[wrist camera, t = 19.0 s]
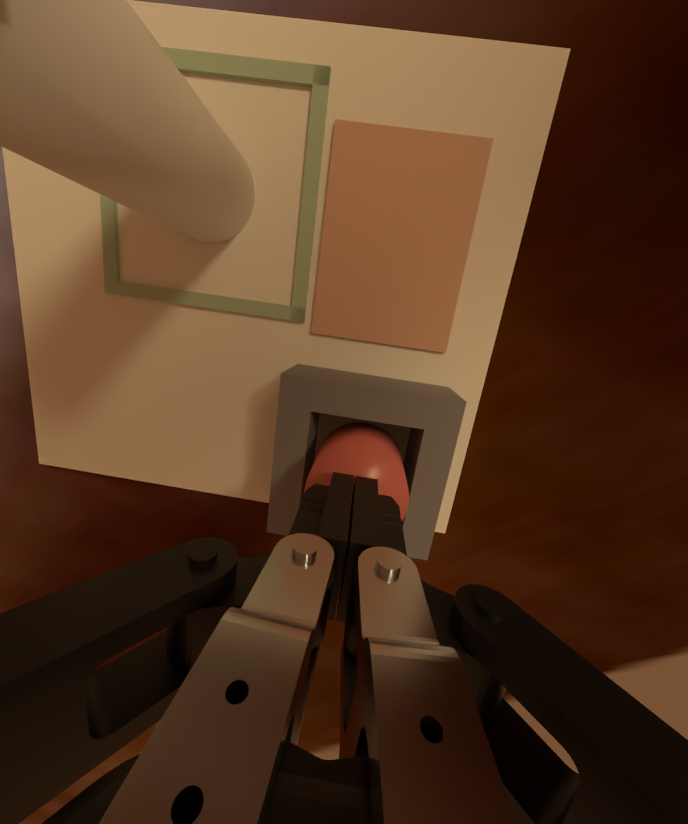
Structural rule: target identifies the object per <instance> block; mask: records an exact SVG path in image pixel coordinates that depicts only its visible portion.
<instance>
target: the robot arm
mask: <svg viewBox="0 0 688 824" xmlns="http://www.w3.org/2000/svg"><path fill="white" fill-rule="evenodd" d="M353 484H354V475H349V474H343V473H337V472H333V474H332V478H331V483H330V486H326V485H320V484H314V485H312V486H311V487H310V488H308V489H307V490H306V491H305V494H304V496H303V499H302V502H301V504H300V507H299V509H298V512H297V514H296V517H295V520H294V522H293V525H292V527H291V530H290V533H289V535H288V536H286V537H284V538H283V539H281V540H280V541H279V542H278V543H277V544H276V546H275V548H274V550H273V551H272V552H271V553H268V554H265V555H261V556H251V557H237V556H238V555H237V550H236V548H235V547H234V545H233V544H231V543H230V542H228V541H227V540H224V539H221V538H216V537H203V538H197V539H193V540H190V541H187V542H185V543H182V544H180V545H177V546H174V547H172V548H169V549H167V550H164V551H161V552H159V553H156V554H154V555H151V556H149V557H146V558H143V559H141V560H138V561H136V562H133V563H130V564H128V565H125V566H123V567H120V568H117V569H115V570H112V571H110V572H107V573H104V574H102V575H99V576H97V577H94V578H92V579H89V580H86V581H84V582H81V583H79V584H76V585H73V586H71V587H68V588H66V589H63V590H60V591H58V592H55V593H53V594H50V595H47V596H45V597H42V598H40V599H37V600H34V601H32V602H29V603H27V604H24V605H22V606H19V607H16V608H14V609H11V610H9V611H6V612H3V613H1V614H0V824H18V823H20V822H21V821H23V820H24V819H25V818H27V817H28V816H29V815H31V814H32V813H33V812H35V811H36V810H38V809H39V808H40V807H42V806H43V805H44V804H46V803H47V802H49V801H50V800H51V799H53V798H54V797H55V796H57V795H58V794H59V793H61V792H62V791H64V790H65V789H66V788H68V787H69V786H70V785H72V784H73V783H74V782H76V781H77V780H79V779H80V778H81V777H83V776H84V775H85V774H87V773H88V772H89V771H91V770H92V769H94V768H95V767H96V766H98V765H99V764H100V763H102V762H103V761H105V760H106V759H107V758H109V757H110V756H111V755H113V754H114V753H115V752H117V751H118V750H120V749H121V748H122V747H124V746H125V745H126V744H128V743H129V742H130V741H132V740H133V739H135V738H136V737H137V736H139V735H140V734H141V733H143V732H144V731H145V730H147V729H148V728H150V727H151V726H152V725H154V724H155V723H156V722H158V721H159V720H160V719H161V720H160V722H159V724H158V725H157V727H156V729H155V730H154V732H153V734H152V735H151V737H150V739H149V740H148V742H147V744H146V745H145V747H144V749H143V750H142V752H141V754H139V755H137V756H135V757H133V758H131V759H129V760H127V761H125V762H123V763H122V764H120V765H119V766H117V767H116V768H114V769H113V770H111V771H110V772H108V773H106V774H105V775H103V776H102V777H101V778H99V779H98V780H97V781H95V782H94V783H93V784H91V785H90V786H89V787H87V788H86V789H85V790H84V791H82V792H81V793H80V794H79V795H77V796H76V797H75V798H73V799H72V800H71V801H70V802H68V803H67V804H66V805H65V806H63V807H62V808H61V809H60V810H58V811H57V812H56V813H55V814H53V815H52V816H51V817H50V818H48V819H47V820H46V821H44V822H43V823H42V824H688V740H687V739H685V738H684V737H683V736H682V735H680V734H679V733H678V732H677V731H675V730H674V729H673V728H672V727H670V726H669V725H668V724H666V723H665V722H664V721H663V720H661V719H660V718H659V717H658V716H656V715H655V714H654V713H653V712H651V711H650V710H649V709H647V708H646V707H645V706H644V705H642V704H641V703H640V702H639V701H637V700H636V699H635V698H634V697H632V696H631V695H630V694H628V693H627V692H626V691H625V690H623V689H622V688H621V687H619V686H618V685H617V684H616V683H615V682H613V681H612V680H611V679H609V678H608V677H607V676H606V675H604V674H603V673H602V672H601V671H599V670H598V669H597V668H596V667H594V666H593V665H592V664H591V663H589V662H588V661H587V660H585V659H584V658H583V657H582V656H580V655H579V654H578V653H577V652H575V651H574V650H573V649H572V648H570V647H569V646H568V645H566V644H565V643H564V642H563V641H561V640H560V639H559V638H558V637H556V636H555V635H554V634H553V633H551V632H550V631H549V630H547V629H546V628H545V627H544V626H542V625H541V624H540V623H539V622H537V621H536V620H535V619H534V618H532V617H531V616H530V615H528V614H527V613H526V612H525V611H523V610H522V609H521V608H520V607H518V606H517V605H516V604H515V603H513V602H512V601H511V600H509V599H508V598H507V597H505V596H504V595H503V594H501V593H499V592H498V591H496V590H493V589H491V588H489V587H486V586H482V585H477V584H469V585H464V586H462V587H460V588H459V589H458V590H457V592H456V595H455V596H453V595H451V594H448V593H446V592H444V591H441V590H439V589H437V588H435V587H433V586H431V585H429V584H427V583H426V582H424V581H423V580H422V579H420V577H419V574H418V570H417V568H416V566H415V564H414V563H413V562H412V560H411V559H410V558H408V557H407V552H406V546H405V539H404V533H403V527H402V521H401V514H400V508H399V505H398V504H397V503H396V501H395V500H394V499H393V498H392V497H391V496H386V495H380V494H378V479H373V478H367V477H361V476H356V478H355V484H354V490H353ZM352 493H353V496H352ZM341 576H342V577H341ZM340 582H341V586H340ZM339 588H340V595H339V604H338V612H337V621H341V622H345V633H344V639H343V645H342V650H341V688H340V751H339V759H336V760H323V759H320V758H318V757H316V756H314V755H313V754H311V753H309V752H307V751H305V750H304V749H302V748H300V747H298V746H297V741H298V737H299V732H300V728H301V724H302V720H303V715H304V711H305V707H306V703H307V699H308V694H309V690H310V686H311V682H312V678H313V673H314V669H315V665H316V661H317V657H318V652H319V647H320V642H321V641H322V639H323V637H324V633H325V628H326V622H327V619H329V620H334V617H335V611H336V605H337V600H338V594H339ZM165 627H167V631H166V632H164V633H162V634H161V635H159V636H157V637H155V638H153V639H152V640H150V641H148V642H146V643H144V644H143V645H141V646H139V647H137V648H135V649H134V650H132V651H130V652H128V653H126V654H125V655H123V656H121V657H119V658H117V659H116V660H114V661H112V662H110V663H108V664H107V665H105V666H103V667H101V668H99V669H98V670H96V668H97V667H98V666H100V665H101V664H102V663H103V662H105V661H106V660H107V659H109V658H111V657H112V656H114V655H116V654H118V653H120V652H121V651H123V650H125V649H127V648H129V647H131V646H132V645H134V644H136V643H138V642H140V641H142V640H143V639H145V638H147V637H149V636H151V635H152V634H154V633H156V632H158V631H160V630H162V629H163V628H165ZM95 670H96V671H95ZM506 689H507V690H508V691H509V692H510V693H511V694H512V695H513V696H514V697H515V698H516V699H517V700H518V701H519V702H520V703H521V704H522V706H524V708H525V709H526V710H527V711H528V712H529V713H530V714H531V715H532V716H533V717H534V718H535V719H536V720H537V721H539V723H540V724H541V725H542V726H543V727H544V728H545V729H546V730H547V731H548V732H549V733H550V734H551V735H552V736H553V737H554V738H555V739H556V740H557V741H558V742H559V743H560V744H561V745H562V746H563V748H564V749H565V750H566V751H567V752H568V754H569V755H570V756H571V758H572V760H573V761H574V763H575V765H576V767H577V769H578V772H579V774H578V773H576V772H574V771H573V770H572V769H570V768H569V767H568V766H567V765H566V764H565V763H564V762H563V761H562V760H561V759H560V758H559V757H558V756H557V754H556V753H555V752H554V751H553V750H552V749H551V748H550V747H549V746H548V745H547V744H546V743H545V742H544V741H543V740H542V739H541V738H540V737H539V735H537V734H536V732H535V731H534V730H533V729H532V728H531V727H530V726H529V725H528V724H527V723H526V722H525V721H524V720H523V719H522V718H521V716H519V714H518V713H517V712H516V711H515V710H514V709H513V708H512V707H511V706H510V705H509V704H508V703H507V702H506V701H505V700H504V699H503V695H504V692H505V690H506Z"/></svg>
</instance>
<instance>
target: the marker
mask: <svg viewBox="0 0 688 824" xmlns="http://www.w3.org/2000/svg"><path fill="white" fill-rule="evenodd" d="M0 146H2V147H4V148H6V149H8V150H10V151H12V152H14V153H16V154H18V155H20V156H22V157H24V158H26V159H29V160H31V161H33V162H35V163H37V164H39V165H41V166H43V167H45V168H47V169H49V170H51V171H53V172H55V173H57V174H59V175H62V176H64V177H66V178H68V179H70V180H72V181H74V182H76V183H78V184H80V185H82V186H84V187H86V188H88V189H90V190H92V191H94V192H97V193H99V194H101V195H103V196H105V197H107V198H109V199H111V200H113V201H115V202H117V203H119V204H121V205H123V206H125V207H127V208H130V209H132V210H134V211H136V212H138V213H140V214H142V215H144V216H146V217H148V218H150V219H152V220H154V221H156V222H158V223H160V224H163V225H165V226H167V227H169V228H171V229H173V230H175V231H177V232H179V233H181V234H183V235H185V236H187V237H189V238H191V239H193V240H196V241H199V242H202V243H208V244H216V243H222V242H225V241H227V240H230V239H231V238H233V237H235V236H236V235H237V234H238V233H239V232H240V231H241V230H242V229H243V228H244V227H245V225H246V224H247V222H248V220H249V218H250V216H251V213H252V210H253V206H254V199H255V188H254V181H253V177H252V174H251V171H250V168H249V166H248V164H247V162H246V160H245V159H244V157H243V156H242V154H241V153H240V152H239V150H238V149H237V148H236V146H235V145H234V144H233V142H232V141H231V140H230V138H229V137H228V136H227V134H226V133H225V132H224V130H223V129H222V128H221V126H220V125H219V124H218V122H217V121H216V120H215V118H214V117H213V116H212V114H211V113H210V112H209V110H208V109H207V107H206V106H205V105H204V103H203V102H202V101H201V99H200V98H199V97H198V95H197V94H196V93H195V91H194V90H193V89H192V87H191V86H190V85H189V83H188V82H187V81H186V79H185V78H184V77H183V75H182V74H181V73H180V71H179V70H178V69H177V67H176V66H175V65H174V63H173V62H172V61H171V59H170V58H169V57H168V55H167V54H166V53H165V51H164V50H163V49H162V47H161V46H160V45H159V43H158V42H157V41H156V39H155V38H154V37H153V35H152V34H151V33H150V31H149V30H148V29H147V27H146V26H145V25H144V23H143V22H142V21H141V19H140V18H139V16H138V15H137V14H136V12H135V11H134V10H133V8H132V7H131V6H130V4H129V3H128V2H127V0H0Z"/></svg>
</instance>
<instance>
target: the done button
mask: <svg viewBox="0 0 688 824" xmlns="http://www.w3.org/2000/svg"><path fill="white" fill-rule="evenodd" d="M333 472H337V473H343V474H349V475H354V484H355V478H356V476H361V477H367V478H373V479H378V494H380V495H386V496H391V497H392V498H393V499H394V500H395V501H396V503H397V504H398V505H399V508H400V514H401V521H402V520H403V519H404V517H405V515H406V513H407V509H408V505H409V490H408V485H407V480H406V476H405V471H404V466H403V462H402V457H401V453H400V450H399V447H398V445H397V443H396V442H395V440H394V439H393V438H392V436H391V435H390V434H388V433H387V432H386V431H385V430H383V429H382V428H380V427H378V426H376V425H373V424H369V423H363V422H354V423H348V424H345V425H342V426H340V427H338V428H336V429H335V430H333V431H332V432H331V433H330V434H329V435H328V436H327V437H326V438H325V439H324V441H323V443H322V445H321V447H320V449H319V451H318V454H317V456H316V459H315V461H314V463H313V466H312V468H311V471H310V473H309V475H308V478H307V481H306V484H305V491H306V490H307V489H308V488H310V487H311V486H312V485H314V484H320V485H326V486H330V483H331V478H332V474H333ZM354 484H353V490H354ZM305 491H304V494H305ZM352 496H353V493H352Z"/></svg>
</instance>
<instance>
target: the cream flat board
mask: <svg viewBox="0 0 688 824" xmlns="http://www.w3.org/2000/svg"><path fill="white" fill-rule="evenodd" d="M127 2H128V3H129V4H130V6H131V7H132V8H133V10H134V11H135V12H136V14H137V15H138V16H139V18H140V19H141V21H142V22H143V23H144V25H145V26H146V27H147V29H148V30H149V31H150V33H151V34H152V35H153V37H154V38H155V39H156V41H157V42H158V43H159V45H160V46H161V47H162V49H163V50H164V51H165V53H166V54H167V55H168V57H169V58H170V59H171V61H172V62H173V63H174V65H175V66H176V67H177V69H178V70H179V71H180V73H181V74H182V75H183V77H184V78H185V79H186V81H187V82H188V83H189V85H190V86H191V87H192V89H193V90H194V91H195V93H196V94H197V95H198V97H199V98H200V99H201V101H202V102H203V103H204V105H205V106H206V107H207V109H208V110H209V112H210V113H211V114H212V116H213V117H214V118H215V120H216V121H217V122H218V124H219V125H220V126H221V128H222V129H223V130H224V132H225V133H226V134H227V136H228V137H229V138H230V140H231V141H232V142H233V144H234V145H235V146H236V148H237V149H238V150H239V152H240V153H241V154H242V156H243V157H244V159H245V160H246V162H247V164H248V166H249V168H250V171H251V174H252V177H253V181H254V188H255V199H254V206H253V210H252V213H251V216H250V218H249V220H248V222H247V224H246V225H245V227H244V228H243V229H242V230H241V231H240V232H239V233H238V234H237V235H236V236H235V237H233V238H231V239H230V240H227V241H225V242H222V243H216V244H208V243H202V242H199V241H196V240H193V239H191V238H189V237H187V236H185V235H183V234H181V233H179V232H177V231H175V230H173V229H171V228H169V227H167V226H165V225H163V224H160V223H158V222H156V221H154V220H152V219H150V218H148V217H146V216H144V215H142V214H140V213H138V212H136V211H134V210H132V209H130V208H127V207H125V206H123V205H121V204H119V203H117V202H115V201H113V200H111V199H109V198H107V197H105V196H103V195H101V194H99V193H97V192H94V191H92V190H90V189H88V188H86V187H84V186H82V185H80V184H78V183H76V182H74V181H72V180H70V179H68V178H66V177H64V176H62V175H59V174H57V173H55V172H53V171H51V170H49V169H47V168H45V167H43V166H41V165H39V164H37V163H35V162H33V161H31V160H29V159H26V158H24V157H22V156H20V155H18V154H16V153H14V152H12V151H10V150H8V149H6V148H4V147H2V148H3V157H4V166H5V174H6V183H7V191H8V200H9V209H10V217H11V226H12V234H13V243H14V252H15V260H16V269H17V277H18V286H19V295H20V303H21V312H22V320H23V329H24V338H25V346H26V355H27V363H28V372H29V381H30V389H31V398H32V406H33V415H34V424H35V432H36V441H37V449H38V458H39V464H44V465H50V466H56V467H62V468H68V469H73V470H79V471H85V472H91V473H97V474H102V475H108V476H114V477H120V478H126V479H132V480H137V481H143V482H149V483H155V484H161V485H166V486H172V487H178V488H184V489H190V490H196V491H201V492H207V493H213V494H219V495H225V496H231V497H236V498H242V499H248V500H254V501H260V502H265V503H269V509H268V520H267V531H266V532H269V533H274V534H280V535H286V536H288V535H289V533H290V530H291V527H292V525H293V522H294V520H295V517H296V514H297V512H298V509H299V507H300V504H301V502H302V499H303V496H304V491H305V484H306V481H307V478H308V475H309V473H310V471H311V468H312V466H313V463H314V461H315V459H316V456H317V454H318V451H319V449H320V447H321V445H322V443H323V441H324V439H325V438H326V437H327V436H328V435H329V434H330V433H331V432H332V431H333V430H335V429H336V428H338V427H340V426H342V425H345V424H348V423H354V422H363V423H369V424H373V425H376V426H378V427H380V428H382V429H383V430H385V431H386V432H387V433H388V434H390V435H391V436H392V438H393V439H394V440H395V442H396V443H397V445H398V447H399V450H400V453H401V457H402V462H403V466H404V471H405V476H406V480H407V485H408V490H409V505H408V509H407V513H406V515H405V517H404V519H403V520H402V527H403V533H404V539H405V546H406V552H407V557H411V558H417V559H423V560H428V556H429V552H430V548H431V543H432V539H433V535H434V532H440V533H445V531H446V528H447V524H448V520H449V516H450V512H451V508H452V504H453V501H454V497H455V493H456V489H457V485H458V481H459V477H460V474H461V470H462V466H463V462H464V458H465V454H466V450H467V447H468V443H469V439H470V435H471V431H472V427H473V423H474V420H475V416H476V412H477V408H478V404H479V400H480V396H481V393H482V389H483V385H484V381H485V377H486V373H487V369H488V365H489V362H490V358H491V354H492V350H493V346H494V342H495V338H496V335H497V331H498V327H499V323H500V319H501V315H502V311H503V308H504V304H505V300H506V296H507V292H508V288H509V284H510V281H511V277H512V273H513V269H514V265H515V261H516V257H517V254H518V250H519V246H520V242H521V238H522V234H523V230H524V227H525V223H526V219H527V215H528V211H529V207H530V203H531V200H532V196H533V192H534V188H535V184H536V180H537V176H538V173H539V169H540V165H541V161H542V157H543V153H544V149H545V146H546V142H547V138H548V134H549V130H550V126H551V122H552V119H553V115H554V111H555V107H556V103H557V99H558V95H559V92H560V88H561V84H562V80H563V76H564V72H565V68H566V65H567V61H568V57H569V53H570V49H569V48H560V47H551V46H542V45H533V44H524V43H515V42H505V41H496V40H487V39H478V38H469V37H460V36H451V35H442V34H433V33H424V32H414V31H405V30H396V29H387V28H378V27H369V26H360V25H351V24H342V23H333V22H323V21H314V20H305V19H296V18H287V17H278V16H269V15H260V14H251V13H242V12H232V11H223V10H214V9H205V8H196V7H187V6H178V5H169V4H160V3H151V2H141V1H132V0H127Z"/></svg>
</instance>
